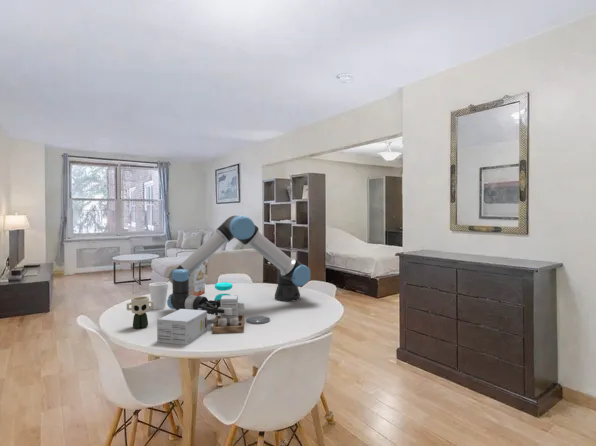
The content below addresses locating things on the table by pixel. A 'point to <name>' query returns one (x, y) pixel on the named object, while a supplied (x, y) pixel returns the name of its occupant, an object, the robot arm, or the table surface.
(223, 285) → the donuts
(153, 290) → the foam cup
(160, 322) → the supplement box
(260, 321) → the coaster
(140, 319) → the character mug
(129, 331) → the table surface
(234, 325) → the tray
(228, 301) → the supplement box
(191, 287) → the cracker box
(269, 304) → the table surface
